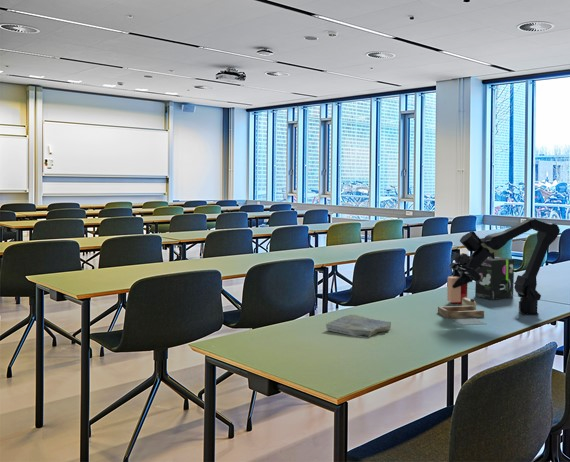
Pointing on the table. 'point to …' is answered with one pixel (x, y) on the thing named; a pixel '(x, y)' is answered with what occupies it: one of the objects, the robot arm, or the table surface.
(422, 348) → the table surface
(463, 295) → the canned food
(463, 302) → the gate
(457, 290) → the block
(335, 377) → the table surface
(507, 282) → the box
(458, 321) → the mat
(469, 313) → the tray
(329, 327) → the fossil
